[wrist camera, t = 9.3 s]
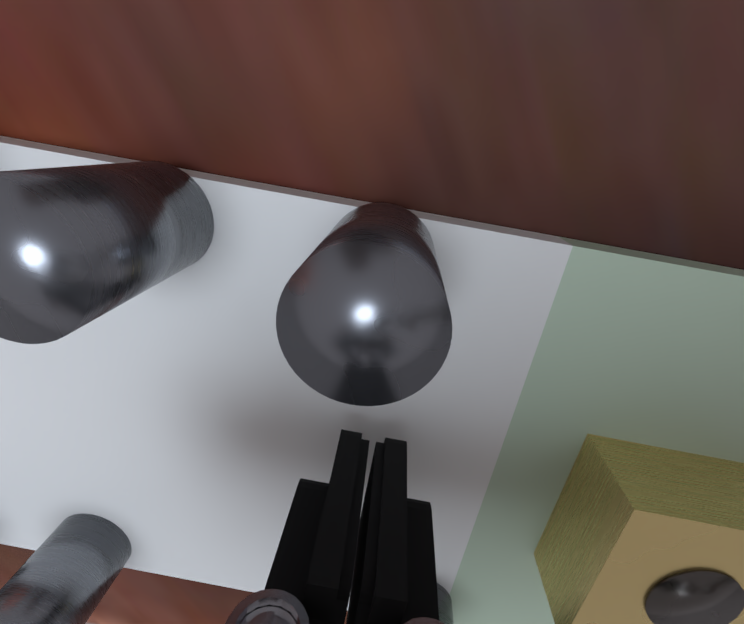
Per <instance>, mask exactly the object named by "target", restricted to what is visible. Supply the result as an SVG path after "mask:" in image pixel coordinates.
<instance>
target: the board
mask: <svg viewBox="0 0 744 624" xmlns="http://www.w3.org/2000/svg"><path fill="white" fill-rule="evenodd" d="M126 162H140V161H138V160H132V159H127V158H121V157H116V156H110V155H105V154H99V153H94V152H88V151H83V150H77V149H71V148H66V147H60V146H55V145H49V144H44V143H38V142H33V141H27V140H22V139H16V138H11V137H5V136H0V171H12V170H26V169H40V168H55V167H69V166H83V165H97V164H112V163H126ZM179 169H181V170H182V171H184V172H185V173H187V174H188V175H189V176H190V177H191V178H192V179H194V181H195V182H196V183H197V184H198V185H199V186H200V188H201V189H202V190H203V192H204V193H205V195H206V197H207V199H208V201H209V204H210V206H211V209H212V213H213V218H214V233H213V238H212V242H211V244H210V247H209V248H208V250H207V252H206V253H205V254H204V256H203V257H202V258H201V259H199V260H198V261H197V262H195V263H194V264H192V265H190V266H189V267H187V268H185V269H183V270H181V271H180V272H178V273H176V274H174V275H173V276H171V277H169V278H167V279H166V280H164V281H162V282H160V283H158V284H157V285H155V286H153V287H151V288H150V289H148V290H146V291H144V292H142V293H141V294H139V295H137V296H135V297H134V298H132V299H130V300H128V301H126V302H125V303H123V304H121V305H119V306H118V307H116V308H114V309H112V310H111V311H109V312H107V313H105V314H103V315H102V316H100V317H98V318H96V319H95V320H93V321H91V322H89V323H87V324H86V325H84V326H82V327H80V328H79V329H77V330H75V331H73V332H71V333H70V334H68V335H66V336H64V337H62V338H60V339H58V340H56V341H52V342H48V343H42V344H24V343H17V342H13V341H9V340H6V339H3V338H0V544H5V545H10V546H15V547H21V548H26V549H31V550H37V549H38V548H39V547H40V546H41V545H42V543H43V542H44V541H45V540H46V539H47V538H48V537H49V536H50V535H51V534H52V532H53V531H54V530H55V529H56V528H57V527H58V526H59V525H60V524H61V523H62V522H63V520H64V519H66V518H67V517H69V516H71V515H74V514H82V513H84V514H93V515H97V516H100V517H103V518H105V519H107V520H109V521H111V522H113V523H114V524H116V525H117V526H118V527H119V528H120V529H122V530H123V532H124V533H125V534H126V535H127V537H128V539H129V541H130V543H131V548H132V552H131V556H130V558H129V559H128V561H127V562H126V564H125V565H124V567H125V568H130V569H135V570H140V571H145V572H151V573H156V574H161V575H166V576H171V577H177V578H182V579H187V580H192V581H198V582H203V583H208V584H213V585H218V586H224V587H229V588H234V589H239V590H244V591H250V592H258V591H260V590H264V589H265V586H266V583H267V579H268V576H269V573H270V570H271V567H272V564H273V561H274V558H275V554H276V551H277V548H278V545H279V542H280V539H281V536H282V532H283V529H284V526H285V523H286V520H287V517H288V514H289V510H290V507H291V504H292V501H293V498H294V495H295V492H296V488H297V485H298V483H299V480H300V478H302V479H308V480H313V481H318V482H324V483H329V481H330V477H331V473H332V468H333V464H334V460H335V455H336V451H337V446H338V442H339V438H340V433H341V429H343V430H348V431H354V432H359V433H362V439H364V440H370V442H369V450H368V458H367V466H366V474H365V482H364V490H363V499H362V507H363V502H364V497H365V493H366V488H367V483H368V478H369V473H370V468H371V464H372V459H373V454H374V449H375V444H376V442H381V443H384V440H385V438H392V439H397V440H403V441H407V498H411V499H416V500H421V501H427V502H430V504H431V508H432V521H433V535H434V550H435V564H436V579H437V583H438V584H440V585H441V586H443V587H444V588H445V589H446V590H447V592H448V593H449V595H450V597H451V601H452V610H453V620H454V624H555V623H554V619H553V616H552V613H551V609H550V606H549V603H548V600H547V596H546V593H545V590H544V586H543V583H542V580H541V577H540V573H539V570H538V567H537V564H536V560H535V557H534V551H535V549H536V547H537V545H538V542H539V540H540V538H541V536H542V534H543V531H544V529H545V527H546V525H547V522H548V520H549V518H550V516H551V514H552V511H553V509H554V507H555V505H556V502H557V500H558V498H559V496H560V494H561V491H562V489H563V487H564V485H565V482H566V480H567V478H568V476H569V473H570V471H571V469H572V467H573V465H574V462H575V460H576V458H577V456H578V453H579V451H580V449H581V447H582V445H583V442H584V440H585V438H586V436H587V434H593V435H598V436H603V437H609V438H614V439H619V440H624V441H630V442H635V443H640V444H646V445H651V446H656V447H661V448H667V449H672V450H677V451H683V452H688V453H693V454H699V455H704V456H709V457H714V458H720V459H725V460H730V461H736V462H741V463H744V270H742V269H736V268H731V267H725V266H720V265H714V264H709V263H703V262H697V261H692V260H686V259H681V258H675V257H670V256H664V255H659V254H653V253H648V252H642V251H637V250H631V249H625V248H620V247H614V246H609V245H603V244H598V243H592V242H587V241H581V240H576V239H570V238H565V237H559V236H553V235H548V234H542V233H537V232H531V231H526V230H520V229H515V228H509V227H504V226H498V225H492V224H487V223H481V222H476V221H470V220H465V219H459V218H454V217H448V216H443V215H437V214H432V213H426V212H420V211H415V210H409V209H407V210H409V211H411V212H412V213H414V214H415V215H416V216H417V217H418V218H419V219H420V220H421V221H422V222H423V223H424V225H425V226H426V227H427V229H428V231H429V233H430V235H431V238H432V241H433V245H434V248H435V252H436V256H437V260H438V264H439V268H440V272H441V276H442V280H443V284H444V288H445V292H446V296H447V300H448V304H449V308H450V312H451V318H452V339H451V345H450V349H449V352H448V355H447V357H446V359H445V361H444V363H443V365H442V367H441V369H440V370H439V371H438V373H437V374H436V376H435V377H434V378H433V379H432V380H431V381H430V382H429V383H428V384H427V385H426V386H424V387H423V388H422V389H421V390H419V391H418V392H416V393H414V394H413V395H411V396H409V397H407V398H405V399H403V400H400V401H397V402H394V403H390V404H385V405H379V406H357V405H350V404H346V403H342V402H338V401H335V400H333V399H330V398H328V397H326V396H324V395H322V394H320V393H318V392H317V391H315V390H314V389H312V388H311V387H309V386H308V385H307V384H306V383H305V382H303V381H302V380H301V379H300V378H299V377H298V376H297V375H296V373H295V372H294V371H293V369H292V368H291V367H290V366H289V364H288V362H287V360H286V359H285V357H284V355H283V353H282V350H281V348H280V345H279V341H278V337H277V331H276V312H277V306H278V302H279V299H280V296H281V293H282V291H283V289H284V287H285V285H286V284H287V282H288V281H289V279H290V278H291V276H292V275H293V274H294V273H295V271H296V270H297V269H298V268H299V267H300V266H301V265H302V263H303V262H304V261H305V260H306V259H307V258H308V257H309V255H310V254H311V253H312V252H313V251H314V250H315V249H316V247H317V246H318V245H319V244H320V243H321V242H322V241H323V239H324V238H325V237H326V236H327V235H328V234H329V233H330V231H331V230H332V229H333V228H334V227H335V226H336V225H337V223H338V222H339V221H340V220H341V219H342V218H343V217H344V216H345V215H346V214H348V213H349V212H350V211H352V210H353V209H355V208H357V207H360V206H362V205H365V204H369V203H371V202H365V201H360V200H354V199H348V198H343V197H337V196H332V195H326V194H321V193H315V192H310V191H304V190H299V189H293V188H288V187H282V186H276V185H271V184H265V183H260V182H254V181H249V180H243V179H238V178H232V177H227V176H221V175H215V174H210V173H204V172H199V171H193V170H188V169H182V168H179ZM362 507H361V512H362ZM360 517H361V515H360ZM349 599H350V597H349ZM348 607H349V602H348ZM348 607H347V610H348Z"/></svg>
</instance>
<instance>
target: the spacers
mask: <svg viewBox="0 0 744 624" xmlns="http://www.w3.org/2000/svg"><path fill="white" fill-rule="evenodd" d="M213 233H214V218H213V213H212V209H211V206H210V204H209V201H208V199H207V197H206V195H205V193H204V192H203V190H202V189H201V188H200V186H199V185H198V184H197V183H196V182H195V181H194V179H192V178H191V177H190V176H189V175H188V174H187V173H185V172H184V171H182V170H181V169H179V168H177V167H175V166H173V165H170V164H168V163H164V162H159V161H140V162H126V163H112V164H97V165H83V166H69V167H55V168H40V169H26V170H12V171H0V338H3V339H6V340H9V341H13V342H17V343H24V344H42V343H48V342H52V341H56V340H58V339H60V338H62V337H64V336H66V335H68V334H70V333H71V332H73V331H75V330H77V329H79V328H80V327H82V326H84V325H86V324H87V323H89V322H91V321H93V320H95V319H96V318H98V317H100V316H102V315H103V314H105V313H107V312H109V311H111V310H112V309H114V308H116V307H118V306H119V305H121V304H123V303H125V302H126V301H128V300H130V299H132V298H134V297H135V296H137V295H139V294H141V293H142V292H144V291H146V290H148V289H150V288H151V287H153V286H155V285H157V284H158V283H160V282H162V281H164V280H166V279H167V278H169V277H171V276H173V275H174V274H176V273H178V272H180V271H181V270H183V269H185V268H187V267H189V266H190V265H192V264H194V263H195V262H197V261H198V260H199V259H201V258H202V257H203V256H204V254H205V253H206V252H207V250H208V248H209V247H210V244H211V242H212V238H213ZM276 331H277V337H278V341H279V345H280V348H281V350H282V353H283V355H284V357H285V359H286V360H287V362H288V364H289V366H290V367H291V368H292V369H293V371H294V372H295V373H296V375H297V376H298V377H299V378H300V379H301V380H302V381H303V382H305V383H306V384H307V385H308V386H309V387H311V388H312V389H314V390H315V391H317V392H318V393H320V394H322V395H324V396H326V397H328V398H330V399H333V400H335V401H338V402H342V403H346V404H350V405H357V406H379V405H385V404H390V403H394V402H397V401H400V400H403V399H405V398H407V397H409V396H411V395H413V394H414V393H416V392H418V391H419V390H421V389H422V388H423V387H424V386H426V385H427V384H428V383H429V382H430V381H431V380H432V379H433V378H434V377H435V376H436V374H437V373H438V371H439V370H440V369H441V367H442V365H443V363H444V361H445V359H446V357H447V355H448V352H449V349H450V345H451V339H452V318H451V312H450V308H449V304H448V300H447V296H446V292H445V288H444V284H443V280H442V276H441V272H440V268H439V264H438V260H437V256H436V252H435V248H434V245H433V241H432V238H431V235H430V233H429V231H428V229H427V227H426V226H425V225H424V223H423V222H422V221H421V220H420V219H419V218H418V217H417V216H416V215H415V214H414V213H412V212H411V211H409V210H407V209H406V208H404V207H401V206H399V205H396V204H392V203H385V202H375V203H369V204H365V205H362V206H360V207H357V208H355V209H353V210H352V211H350V212H349V213H348V214H346V215H345V216H344V217H343V218H342V219H341V220H340V221H339V222H338V223H337V225H336V226H335V227H334V228H333V229H332V230H331V231H330V233H329V234H328V235H327V236H326V237H325V238H324V239H323V241H322V242H321V243H320V244H319V245H318V246H317V247H316V249H315V250H314V251H313V252H312V253H311V254H310V255H309V257H308V258H307V259H306V260H305V261H304V262H303V263H302V265H301V266H300V267H299V268H298V269H297V270H296V271H295V273H294V274H293V275H292V276H291V278H290V279H289V281H288V282H287V284H286V285H285V287H284V289H283V291H282V293H281V296H280V299H279V302H278V306H277V312H276ZM131 552H132V548H131V543H130V541H129V539H128V537H127V535H126V534H125V533H124V532H123V530H122V529H120V528H119V527H118V526H117V525H116V524H114V523H113V522H111V521H109V520H107V519H105V518H103V517H100V516H97V515H93V514H84V513H82V514H74V515H71V516H69V517H67V518H66V519H64V520H63V522H62V523H61V524H60V525H59V526H58V527H57V528H56V529H55V530H54V531H53V532H52V534H51V535H50V536H49V537H48V538H47V539H46V540H45V541H44V542H43V543H42V545H41V546H40V547H39V548H38V549H37V550H36V551H35V552H34V553H33V554H32V556H31V557H30V558H29V559H28V560H27V561H26V562H25V563H24V564H23V565H22V566H21V568H20V569H19V570H18V571H17V572H16V573H15V574H14V575H13V576H12V577H11V579H10V580H9V581H8V582H7V583H6V584H5V585H4V586H3V587H2V588H1V589H0V624H85V623H86V622H87V620H88V619H89V617H90V616H91V614H92V613H93V611H94V610H95V608H96V607H97V605H98V604H99V602H100V601H101V599H102V598H103V596H104V595H105V593H106V592H107V590H108V589H109V587H110V586H111V584H112V583H113V581H114V580H115V579H116V577H117V576H118V574H119V573H120V571H121V570H122V568H123V567H124V565H125V564H126V562H127V561H128V559H129V558H130V556H131ZM437 594H438V608H439V621H440V622H442V623H444V624H454V620H453V610H452V601H451V597H450V595H449V593H448V592H447V590H446V589H445V588H444V587H443V586H441V585H440V584H438V583H437Z"/></svg>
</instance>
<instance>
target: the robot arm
mask: <svg viewBox="0 0 744 624" xmlns="http://www.w3.org/2000/svg"><path fill="white" fill-rule="evenodd" d="M369 442H370V440H364V439H362V433H359V432H354V431H348V430H343V429H341V433H340V438H339V442H338V446H337V451H336V455H335V460H334V464H333V468H332V473H331V477H330V481H329V483H324V482H318V481H313V480H308V479H302V478H300V480H299V483H298V485H297V488H296V492H295V495H294V498H293V501H292V504H291V507H290V510H289V514H288V517H287V520H286V523H285V526H284V529H283V532H282V536H281V539H280V542H279V545H278V548H277V551H276V554H275V558H274V561H273V564H272V567H271V570H270V573H269V576H268V579H267V583H266V586H265V589H264V590H260V591H258V592H255V593H253V594H251V595H249V596H247V597H246V598H245V599H244V600H242V601H241V602H240V603H239V604H238V605H237V606H236V607H235V609H234V610H233V611H232V613H231V614H230V616H229V617H228V619H227V621H226V623H225V624H344V621H345V616H346V611H347V607H348V602H349V607H348V615H347V623H346V624H444V623H442V622H440V621H439V608H438V594H437V579H436V564H435V550H434V535H433V521H432V508H431V504H430V502H427V501H421V500H416V499H411V498H407V441H403V440H397V439H392V438H385V440H384V443H381V442H376V444H375V449H374V454H373V459H372V464H371V468H370V473H369V478H368V483H367V488H366V493H365V497H364V502H363V507H362V499H363V490H364V482H365V474H366V466H367V458H368V450H369ZM361 507H362V512H361ZM360 515H361V517H360ZM349 597H350V599H349Z"/></svg>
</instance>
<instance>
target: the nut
mask: <svg viewBox="0 0 744 624" xmlns="http://www.w3.org/2000/svg"><path fill="white" fill-rule="evenodd" d="M534 557H535V560H536V564H537V567H538V570H539V573H540V577H541V580H542V583H543V586H544V590H545V593H546V596H547V600H548V603H549V606H550V609H551V613H552V616H553V619H554V623H555V624H744V463H741V462H736V461H730V460H725V459H720V458H714V457H709V456H704V455H699V454H693V453H688V452H683V451H677V450H672V449H667V448H661V447H656V446H651V445H646V444H640V443H635V442H630V441H624V440H619V439H614V438H609V437H603V436H598V435H593V434H587V436H586V438H585V440H584V442H583V445H582V447H581V449H580V451H579V453H578V456H577V458H576V460H575V462H574V465H573V467H572V469H571V471H570V473H569V476H568V478H567V480H566V482H565V485H564V487H563V489H562V491H561V494H560V496H559V498H558V500H557V502H556V505H555V507H554V509H553V511H552V514H551V516H550V518H549V520H548V522H547V525H546V527H545V529H544V531H543V534H542V536H541V538H540V540H539V542H538V545H537V547H536V549H535V551H534Z"/></svg>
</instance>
